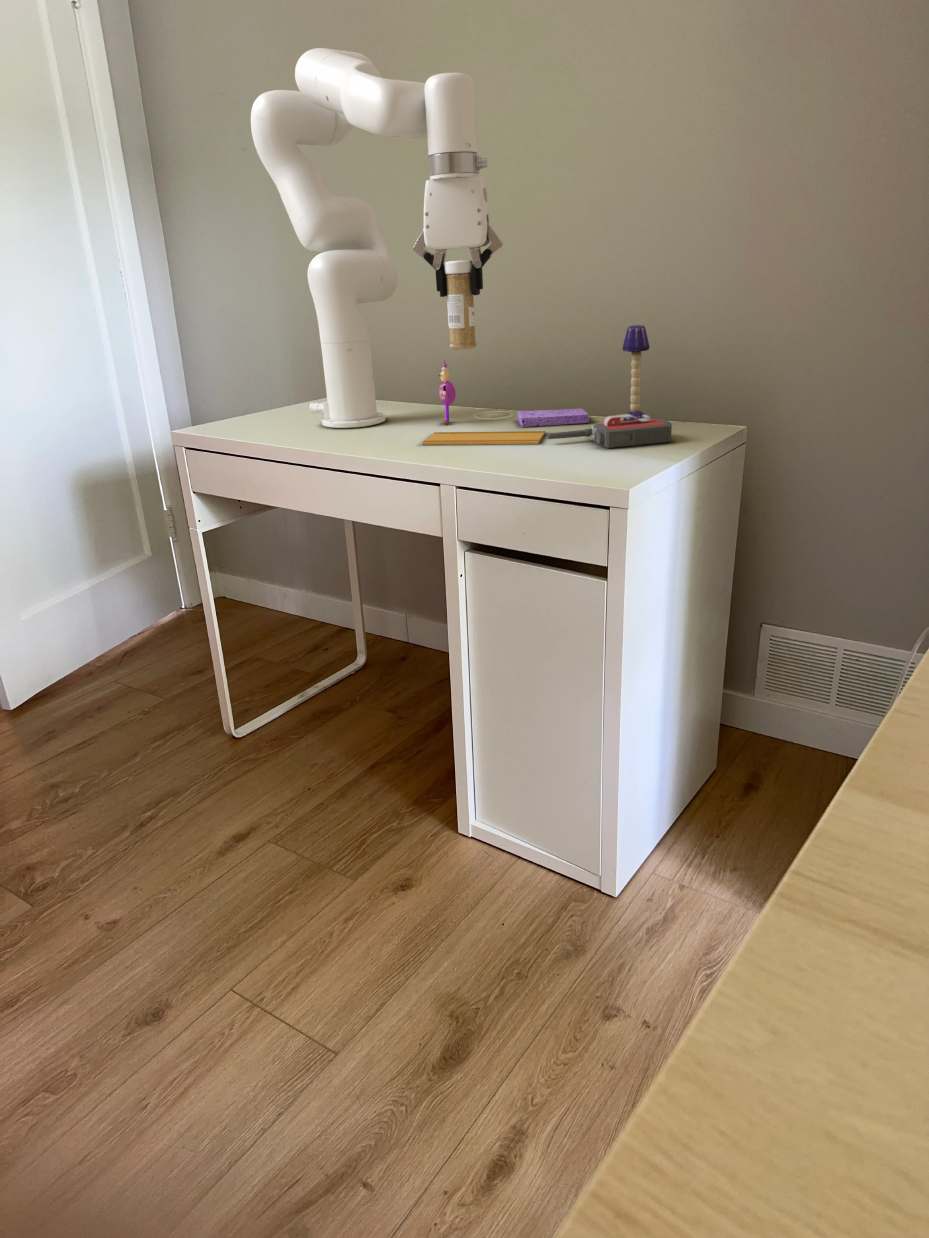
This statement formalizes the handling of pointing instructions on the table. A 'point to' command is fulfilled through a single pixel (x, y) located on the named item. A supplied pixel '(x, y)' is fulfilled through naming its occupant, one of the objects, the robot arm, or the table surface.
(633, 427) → the walkie-talkie
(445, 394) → the purple clown figurine
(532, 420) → the sponge
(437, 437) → the wooden board
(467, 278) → the brown spice jar
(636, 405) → the toy lamp
